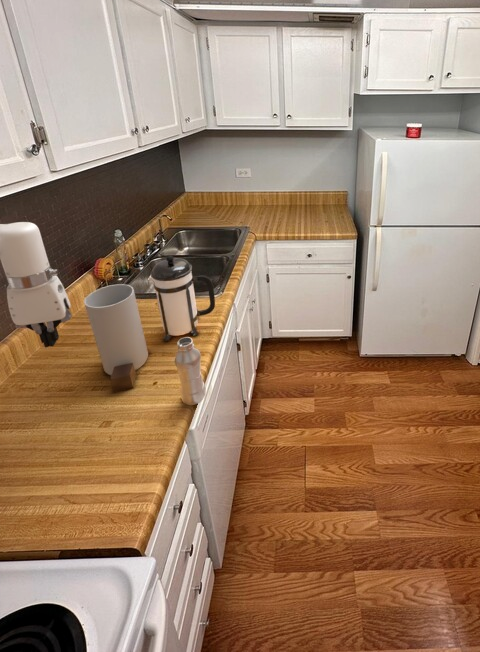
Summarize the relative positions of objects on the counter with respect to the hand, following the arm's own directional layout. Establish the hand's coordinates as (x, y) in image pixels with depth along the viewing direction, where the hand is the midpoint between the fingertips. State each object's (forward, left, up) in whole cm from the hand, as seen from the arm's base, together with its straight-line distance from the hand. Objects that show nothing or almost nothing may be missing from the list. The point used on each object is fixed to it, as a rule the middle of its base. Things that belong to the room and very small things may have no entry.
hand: (51, 343), depth 81 cm
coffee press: (+28, +27, -23) cm, 45 cm away
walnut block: (+11, +6, -23) cm, 26 cm away
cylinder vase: (+10, +15, -23) cm, 30 cm away
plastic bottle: (+30, -7, -23) cm, 38 cm away
